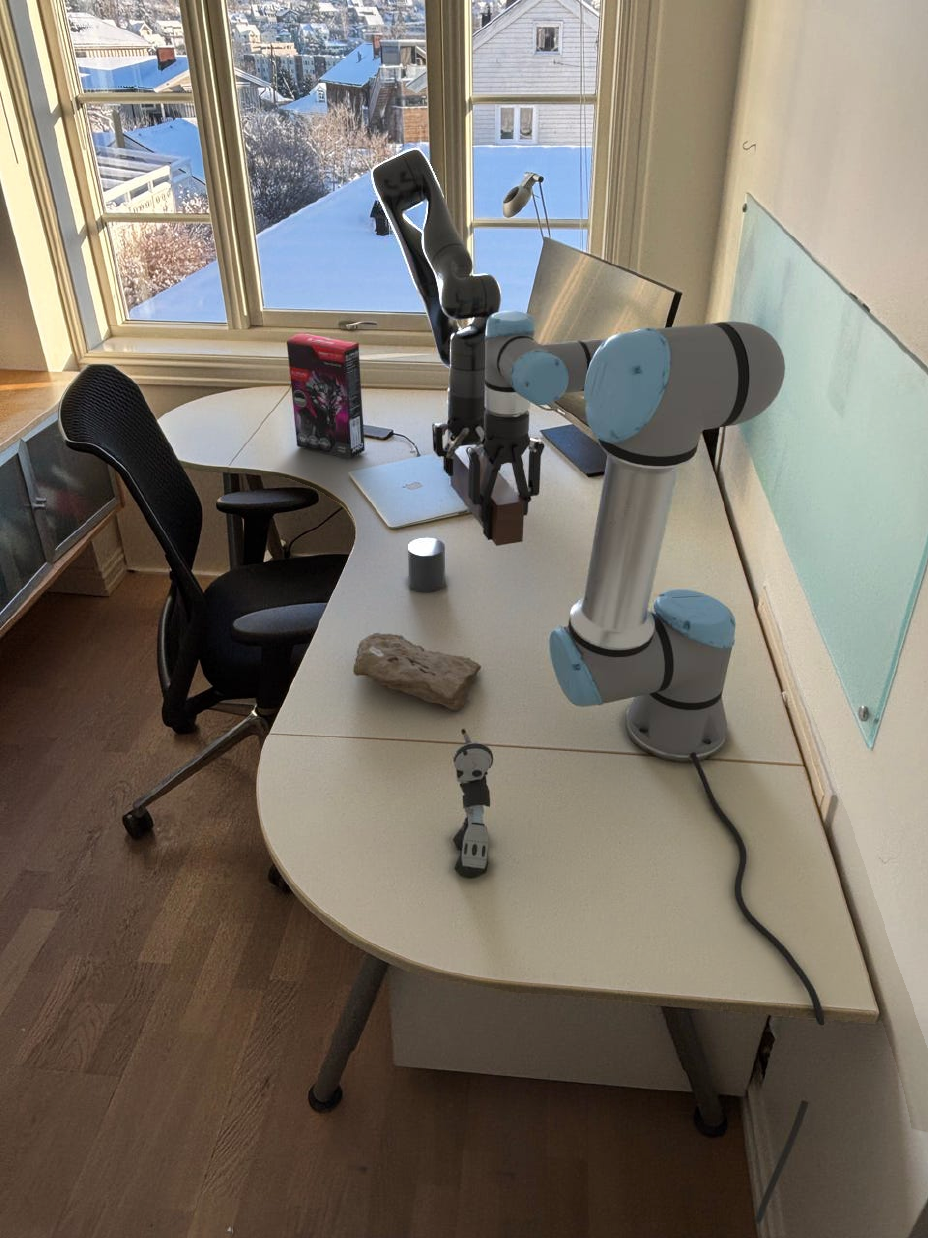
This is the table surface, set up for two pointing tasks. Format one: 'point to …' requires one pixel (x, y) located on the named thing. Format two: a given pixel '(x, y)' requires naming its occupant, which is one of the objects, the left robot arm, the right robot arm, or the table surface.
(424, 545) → the grey cylinder white top
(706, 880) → the table surface
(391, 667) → the stone
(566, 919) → the table surface
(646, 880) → the table surface
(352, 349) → the graphics card box
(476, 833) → the robot
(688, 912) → the table surface
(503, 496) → the walnut block
